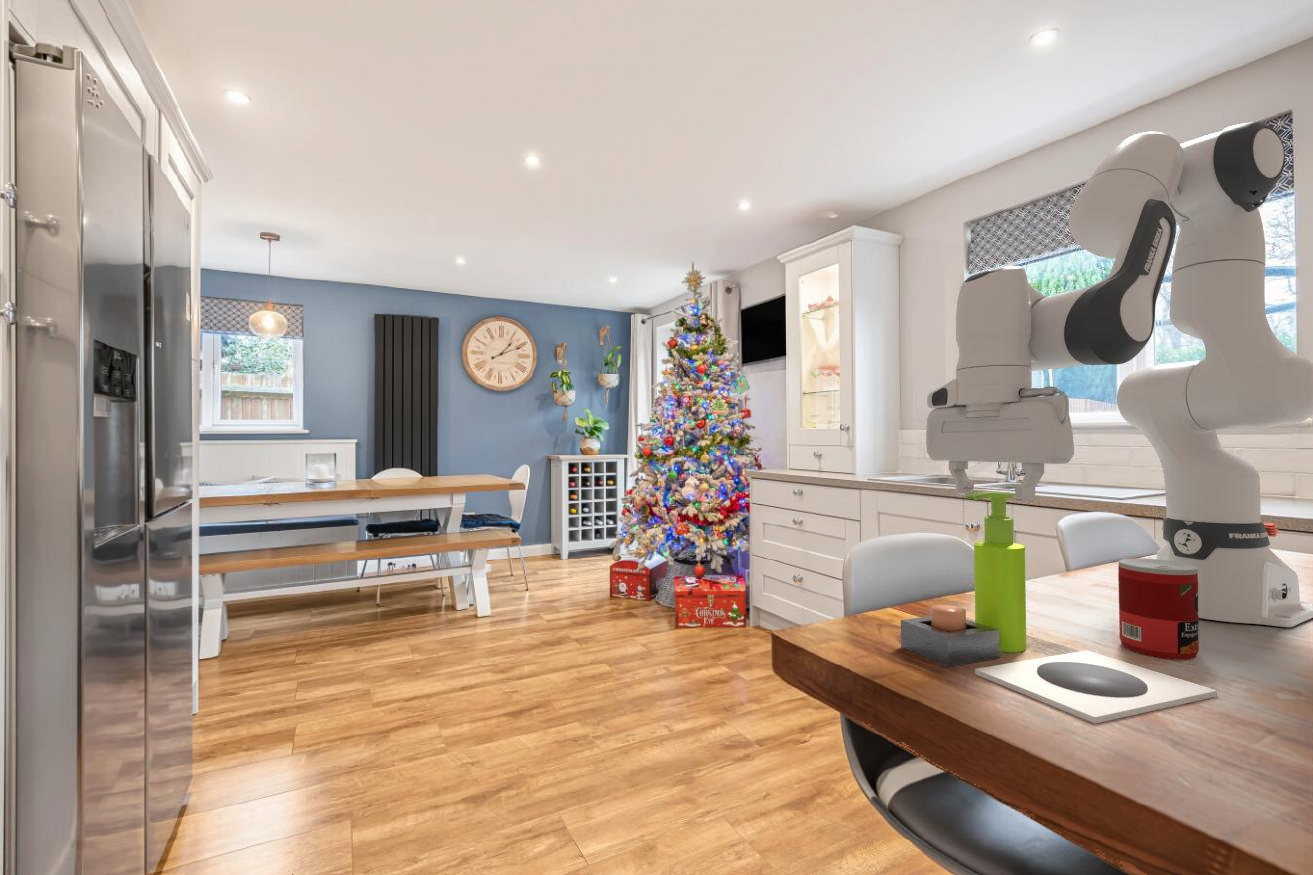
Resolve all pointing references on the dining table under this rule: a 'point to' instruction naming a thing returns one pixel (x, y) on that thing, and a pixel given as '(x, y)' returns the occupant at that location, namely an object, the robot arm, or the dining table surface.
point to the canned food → (1159, 608)
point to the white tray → (1095, 685)
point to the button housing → (950, 642)
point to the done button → (948, 618)
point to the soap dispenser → (1000, 576)
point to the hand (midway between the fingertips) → (993, 497)
